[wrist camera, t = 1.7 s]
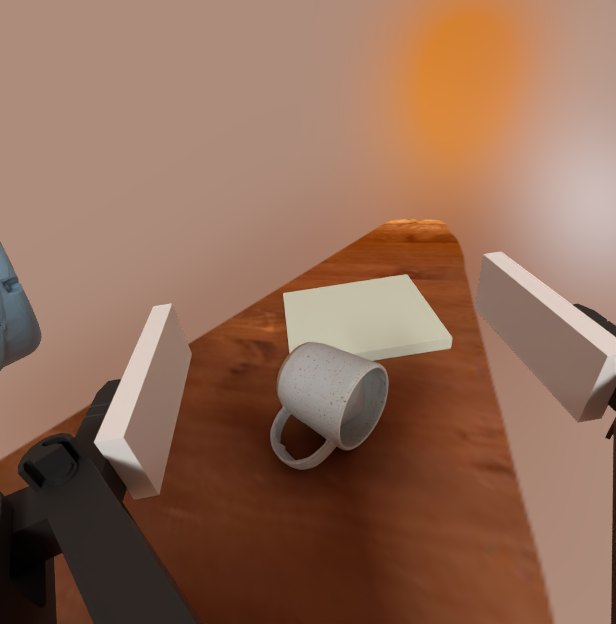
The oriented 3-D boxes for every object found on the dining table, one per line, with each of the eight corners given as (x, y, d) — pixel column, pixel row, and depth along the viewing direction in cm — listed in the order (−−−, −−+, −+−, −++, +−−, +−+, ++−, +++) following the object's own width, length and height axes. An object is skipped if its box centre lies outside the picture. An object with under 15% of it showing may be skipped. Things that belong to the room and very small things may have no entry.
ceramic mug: (323, 376, 40) (315, 319, 36) (390, 409, 35) (391, 349, 31) (252, 445, 34) (232, 387, 30) (322, 498, 29) (310, 438, 25)
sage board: (292, 373, 41) (290, 363, 40) (284, 302, 53) (283, 293, 52) (450, 348, 41) (452, 337, 41) (406, 283, 54) (406, 274, 53)
